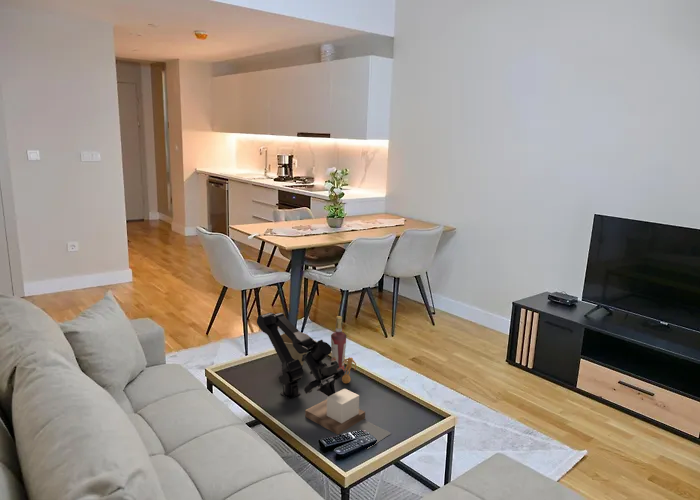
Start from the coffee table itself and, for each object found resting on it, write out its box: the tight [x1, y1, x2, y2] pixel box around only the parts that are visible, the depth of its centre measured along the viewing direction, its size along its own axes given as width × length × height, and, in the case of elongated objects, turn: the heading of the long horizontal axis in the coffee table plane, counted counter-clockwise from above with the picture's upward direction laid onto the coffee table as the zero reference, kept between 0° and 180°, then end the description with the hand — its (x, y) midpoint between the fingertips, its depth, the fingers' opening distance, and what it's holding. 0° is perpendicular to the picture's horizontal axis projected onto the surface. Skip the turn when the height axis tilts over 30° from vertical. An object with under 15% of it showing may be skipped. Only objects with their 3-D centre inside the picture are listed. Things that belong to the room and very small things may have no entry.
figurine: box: [341, 357, 357, 384], centre depth 234 cm, size 8×6×12 cm
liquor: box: [330, 315, 347, 372], centre depth 241 cm, size 7×7×28 cm
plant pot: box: [280, 332, 310, 366], centre depth 246 cm, size 15×15×16 cm
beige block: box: [326, 388, 360, 423], centre depth 201 cm, size 8×10×8 cm
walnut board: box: [304, 398, 366, 435], centre depth 205 cm, size 18×16×3 cm
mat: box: [339, 419, 392, 450], centre depth 195 cm, size 14×14×1 cm
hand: (335, 399), depth 204 cm, fingers closed, pressing on beige block
